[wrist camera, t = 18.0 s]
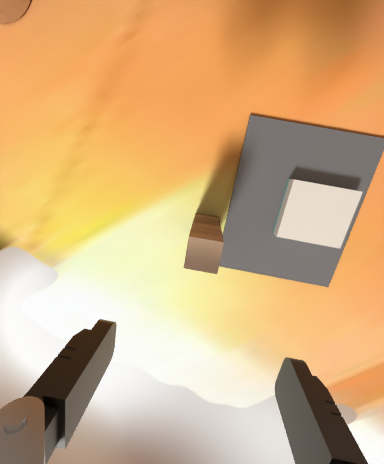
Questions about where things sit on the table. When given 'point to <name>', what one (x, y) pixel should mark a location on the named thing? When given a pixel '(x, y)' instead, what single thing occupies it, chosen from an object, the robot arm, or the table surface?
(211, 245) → the walnut stick
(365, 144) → the mat
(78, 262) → the table surface
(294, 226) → the tile
